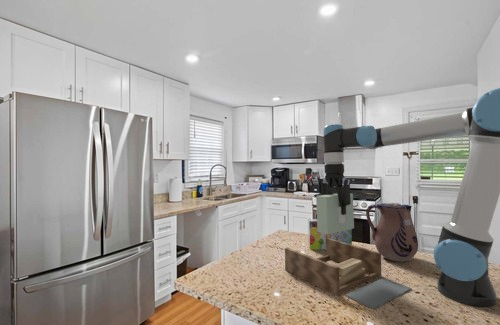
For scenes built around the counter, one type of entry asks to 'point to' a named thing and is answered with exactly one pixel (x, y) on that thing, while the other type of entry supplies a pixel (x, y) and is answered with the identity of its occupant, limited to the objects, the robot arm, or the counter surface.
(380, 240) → the ceramic pitcher
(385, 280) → the mat
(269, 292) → the counter surface
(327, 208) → the pale green block
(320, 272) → the rack
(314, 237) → the snack box
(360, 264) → the offcut stack
